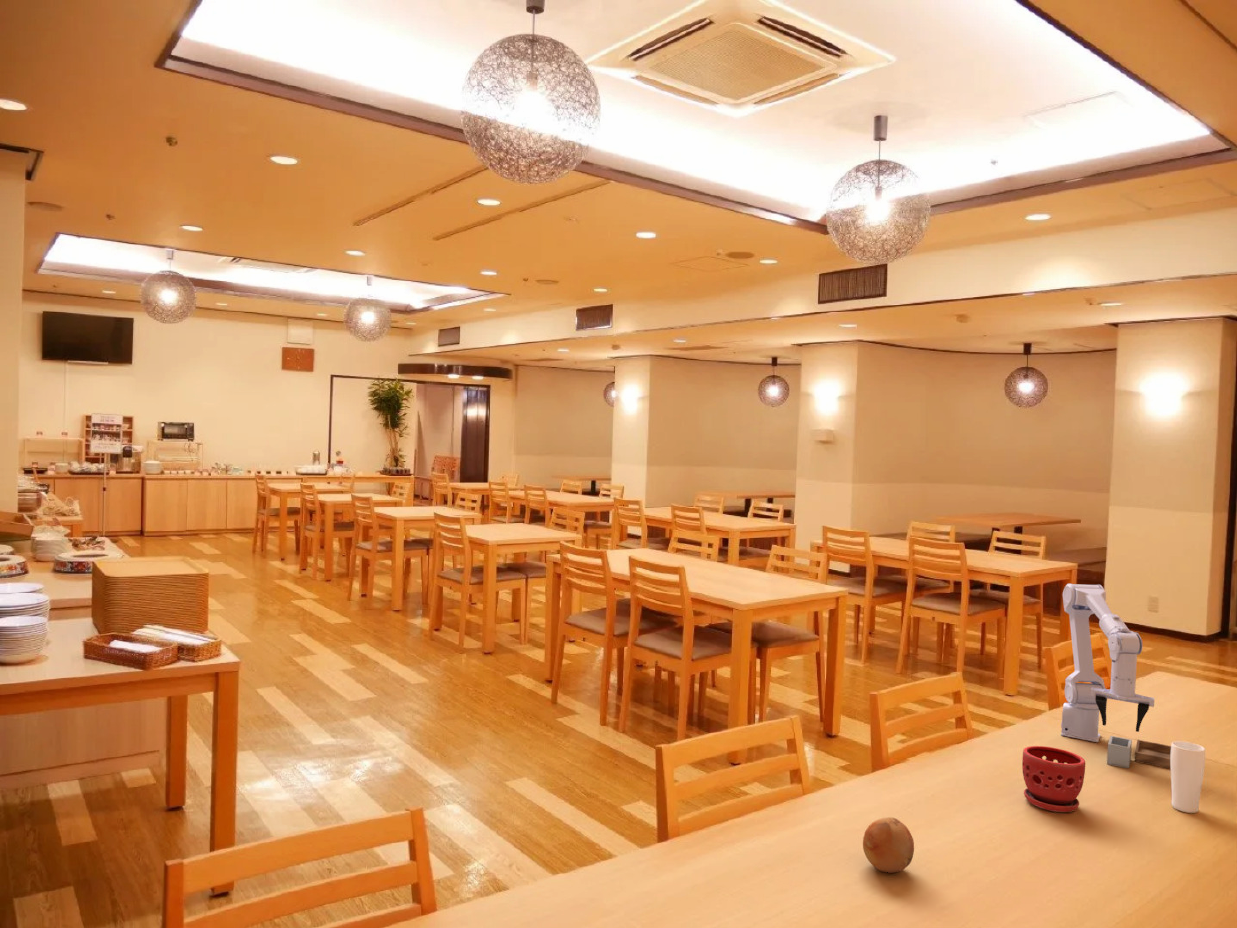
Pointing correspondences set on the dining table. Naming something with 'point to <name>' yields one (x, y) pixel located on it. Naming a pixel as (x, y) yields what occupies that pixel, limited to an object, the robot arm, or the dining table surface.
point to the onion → (888, 845)
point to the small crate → (1119, 752)
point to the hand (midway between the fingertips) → (1120, 727)
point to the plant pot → (1052, 778)
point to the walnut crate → (1152, 753)
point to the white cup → (1186, 775)
